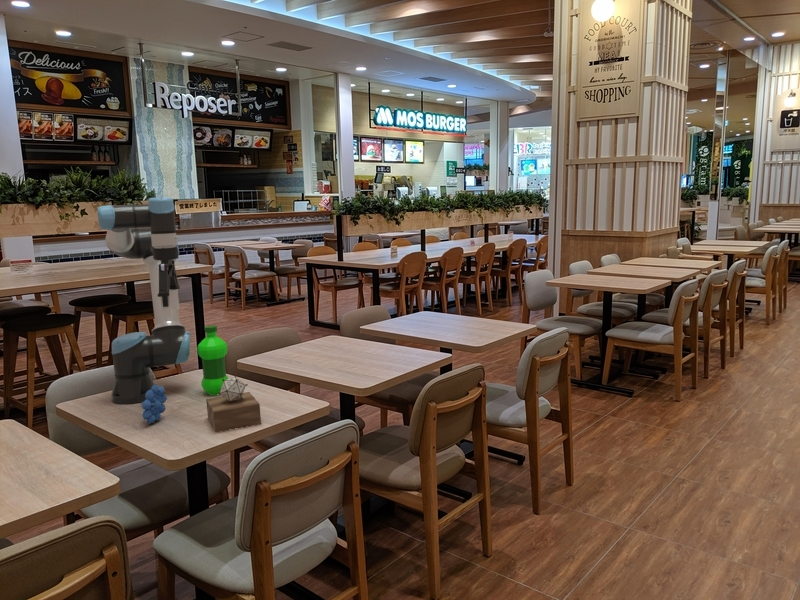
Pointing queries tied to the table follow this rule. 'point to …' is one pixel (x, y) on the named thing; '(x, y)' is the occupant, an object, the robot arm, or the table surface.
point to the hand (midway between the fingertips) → (171, 313)
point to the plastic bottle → (212, 361)
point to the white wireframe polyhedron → (232, 389)
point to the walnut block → (233, 412)
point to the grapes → (154, 404)
